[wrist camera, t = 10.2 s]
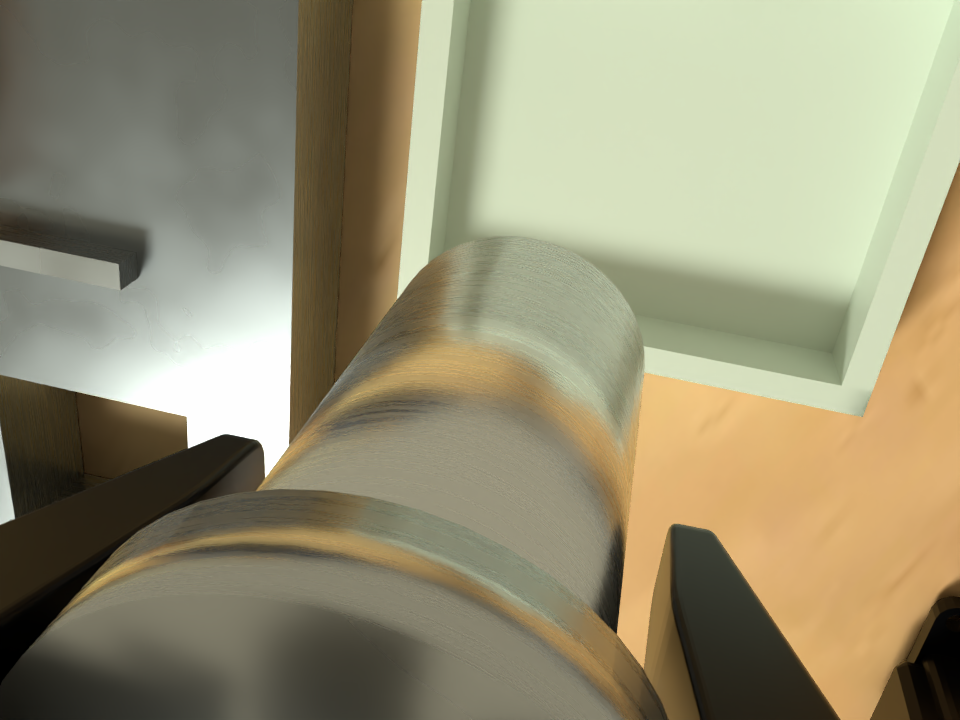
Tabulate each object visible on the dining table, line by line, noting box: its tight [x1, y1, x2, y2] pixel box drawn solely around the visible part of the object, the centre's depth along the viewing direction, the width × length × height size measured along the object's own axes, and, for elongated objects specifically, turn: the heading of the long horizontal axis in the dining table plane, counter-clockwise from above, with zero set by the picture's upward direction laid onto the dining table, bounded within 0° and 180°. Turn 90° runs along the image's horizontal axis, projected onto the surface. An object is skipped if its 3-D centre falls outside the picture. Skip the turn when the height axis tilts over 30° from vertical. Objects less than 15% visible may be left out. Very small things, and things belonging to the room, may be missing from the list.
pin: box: [0, 236, 669, 720], centre depth 9 cm, size 5×5×8 cm
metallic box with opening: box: [0, 0, 353, 525], centre depth 22 cm, size 10×18×4 cm, turn 173°
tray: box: [397, 0, 960, 417], centre depth 18 cm, size 10×9×2 cm
